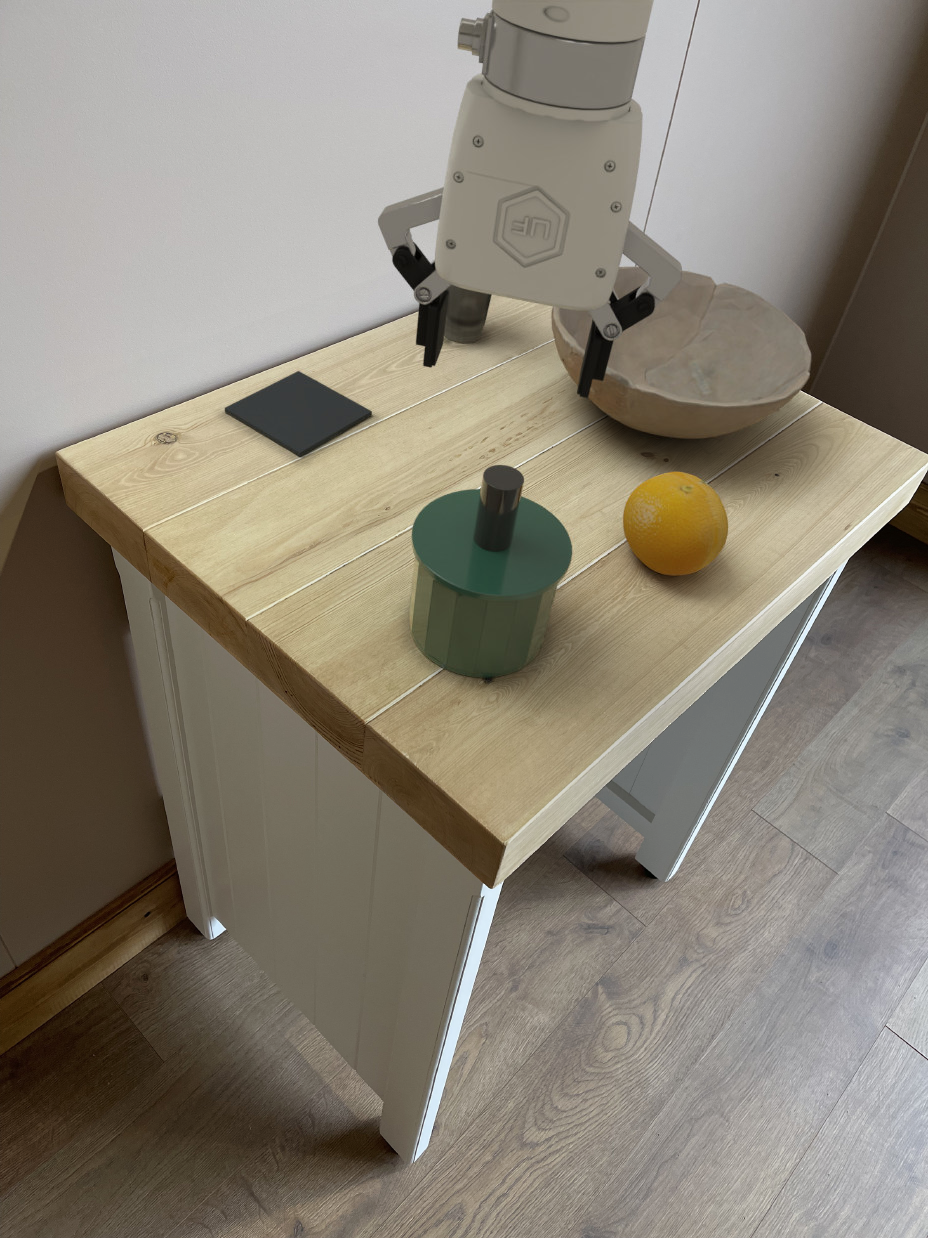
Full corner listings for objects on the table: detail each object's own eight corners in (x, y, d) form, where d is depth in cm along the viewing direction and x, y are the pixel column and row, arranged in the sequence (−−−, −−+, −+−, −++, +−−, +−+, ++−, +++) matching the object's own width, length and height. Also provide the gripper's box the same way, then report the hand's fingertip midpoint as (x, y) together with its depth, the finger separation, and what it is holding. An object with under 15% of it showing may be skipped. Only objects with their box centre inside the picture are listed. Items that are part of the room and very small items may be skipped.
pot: (381, 628, 71) (387, 545, 65) (464, 562, 77) (476, 481, 71) (491, 700, 67) (508, 620, 61) (568, 625, 74) (591, 545, 68)
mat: (224, 412, 88) (224, 407, 88) (298, 374, 95) (298, 370, 94) (300, 457, 85) (300, 452, 85) (371, 415, 91) (372, 410, 91)
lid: (377, 551, 65) (381, 475, 60) (474, 481, 72) (485, 408, 67) (509, 634, 61) (525, 559, 56) (598, 551, 68) (620, 478, 63)
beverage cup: (455, 310, 108) (476, 127, 94) (506, 333, 105) (535, 149, 91) (417, 331, 103) (433, 142, 89) (469, 356, 101) (494, 166, 87)
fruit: (728, 566, 81) (759, 494, 75) (676, 607, 76) (705, 533, 71) (648, 515, 85) (672, 443, 79) (594, 551, 80) (616, 477, 75)
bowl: (816, 411, 101) (854, 328, 94) (716, 524, 85) (752, 433, 78) (612, 322, 110) (632, 240, 103) (486, 408, 94) (500, 318, 87)
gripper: (372, 51, 43) (358, 375, 55) (738, 118, 42) (642, 430, 55) (405, 14, 48) (386, 317, 60) (731, 74, 48) (645, 368, 60)
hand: (508, 371), depth 57 cm, fingers open, 9 cm apart
